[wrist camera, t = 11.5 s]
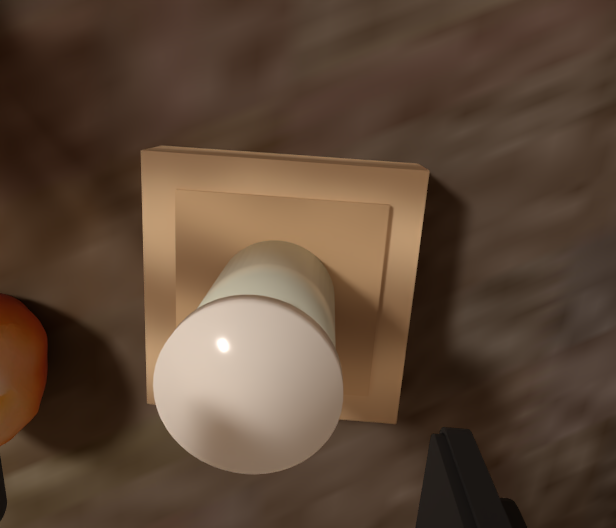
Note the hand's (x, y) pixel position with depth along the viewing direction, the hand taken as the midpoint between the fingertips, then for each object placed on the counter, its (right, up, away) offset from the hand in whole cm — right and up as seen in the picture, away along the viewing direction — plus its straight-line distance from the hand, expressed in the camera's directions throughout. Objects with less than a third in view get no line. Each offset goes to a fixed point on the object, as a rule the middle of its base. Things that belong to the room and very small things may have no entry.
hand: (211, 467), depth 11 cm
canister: (+1, +3, +12) cm, 12 cm away
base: (+1, +4, +15) cm, 16 cm away
